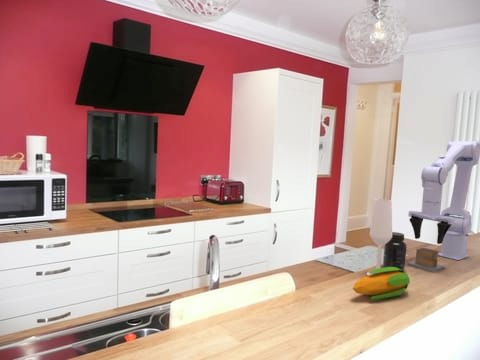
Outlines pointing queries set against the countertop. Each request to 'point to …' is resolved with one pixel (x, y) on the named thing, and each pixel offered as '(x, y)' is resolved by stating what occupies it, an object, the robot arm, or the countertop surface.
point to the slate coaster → (431, 269)
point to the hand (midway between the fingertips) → (428, 240)
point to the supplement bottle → (395, 252)
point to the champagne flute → (381, 226)
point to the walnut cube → (426, 257)
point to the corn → (383, 283)
